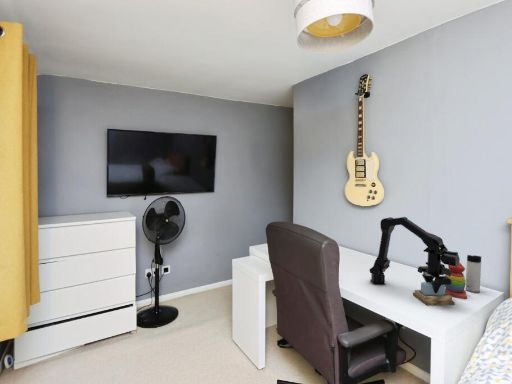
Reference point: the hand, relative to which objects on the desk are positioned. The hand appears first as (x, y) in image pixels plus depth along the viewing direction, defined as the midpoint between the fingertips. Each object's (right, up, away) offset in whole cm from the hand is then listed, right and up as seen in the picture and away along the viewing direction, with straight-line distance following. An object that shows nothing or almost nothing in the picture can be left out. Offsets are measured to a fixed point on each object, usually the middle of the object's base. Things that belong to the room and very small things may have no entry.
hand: (433, 291), depth 149 cm
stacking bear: (+16, -4, +7) cm, 18 cm away
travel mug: (+28, -3, +10) cm, 30 cm away
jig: (0, -5, 0) cm, 5 cm away
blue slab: (0, -1, 0) cm, 1 cm away
